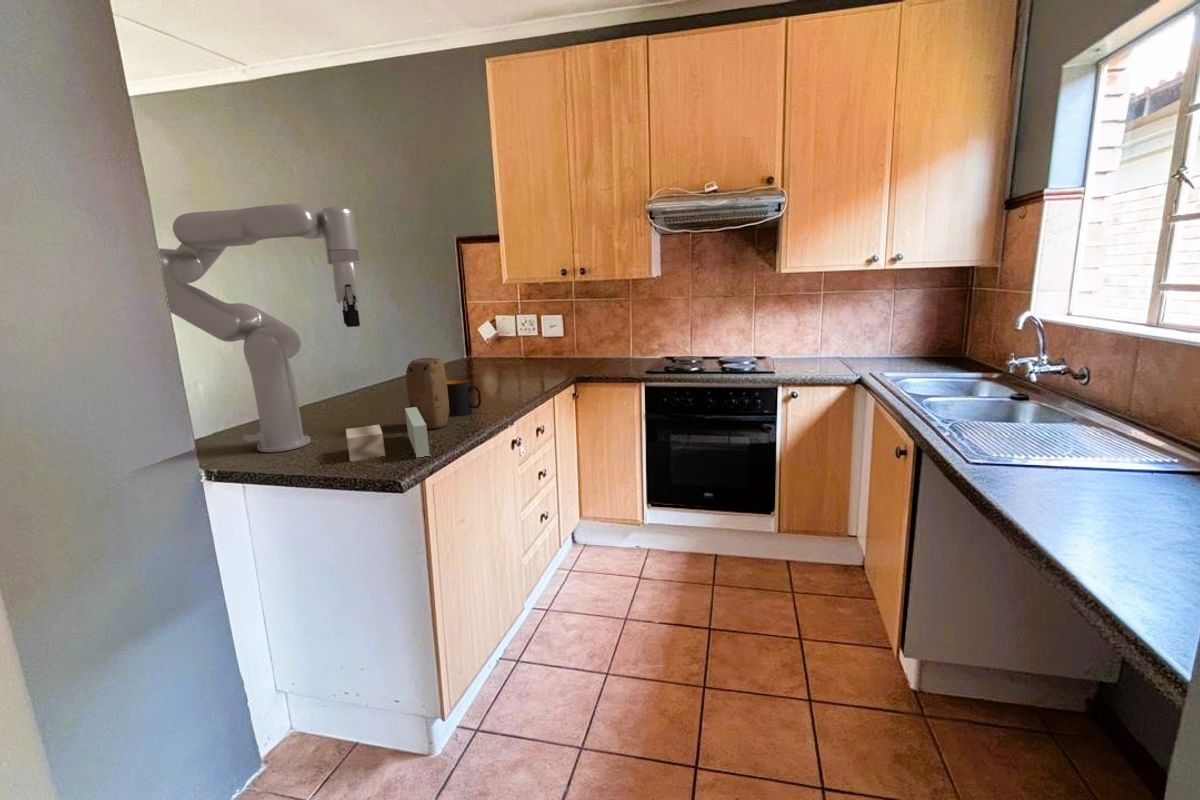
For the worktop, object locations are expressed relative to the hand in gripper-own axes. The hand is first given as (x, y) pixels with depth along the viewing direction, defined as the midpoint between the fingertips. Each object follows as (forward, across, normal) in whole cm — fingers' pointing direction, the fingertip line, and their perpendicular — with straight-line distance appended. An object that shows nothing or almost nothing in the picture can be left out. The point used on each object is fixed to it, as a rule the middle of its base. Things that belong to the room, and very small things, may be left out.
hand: (352, 325), depth 147 cm
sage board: (+31, +14, +11) cm, 36 cm away
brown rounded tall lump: (+31, -4, +18) cm, 36 cm away
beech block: (+32, +14, -1) cm, 34 cm away
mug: (+31, -15, +30) cm, 46 cm away
